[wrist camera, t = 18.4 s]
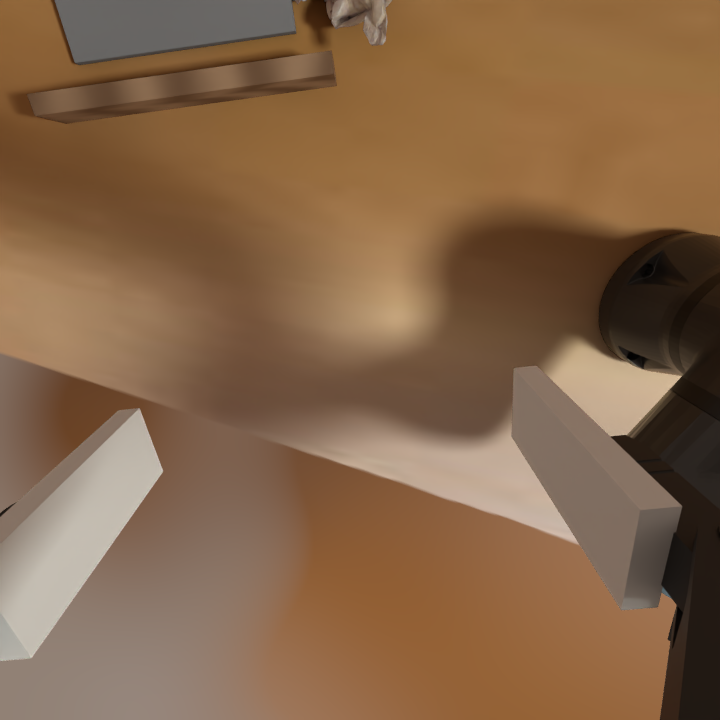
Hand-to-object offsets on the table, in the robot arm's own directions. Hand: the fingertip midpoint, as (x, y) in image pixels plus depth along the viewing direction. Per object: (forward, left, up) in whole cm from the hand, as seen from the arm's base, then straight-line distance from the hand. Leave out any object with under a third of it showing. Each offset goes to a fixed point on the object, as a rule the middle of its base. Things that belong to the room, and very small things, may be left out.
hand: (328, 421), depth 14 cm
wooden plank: (+12, -18, -32) cm, 38 cm away
